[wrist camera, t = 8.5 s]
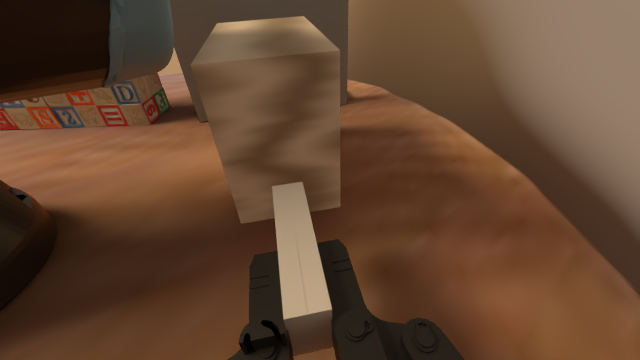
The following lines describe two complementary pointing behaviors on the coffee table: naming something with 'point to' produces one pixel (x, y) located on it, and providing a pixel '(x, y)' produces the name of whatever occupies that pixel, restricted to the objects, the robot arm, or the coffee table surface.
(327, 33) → the stop board
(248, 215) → the ash block
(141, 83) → the stack of blocks
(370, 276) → the coffee table surface
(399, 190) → the coffee table surface
